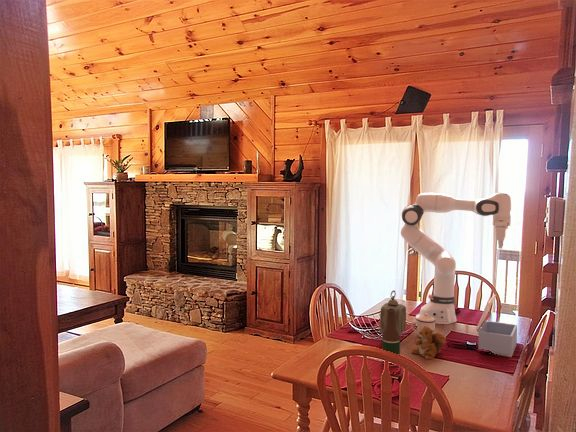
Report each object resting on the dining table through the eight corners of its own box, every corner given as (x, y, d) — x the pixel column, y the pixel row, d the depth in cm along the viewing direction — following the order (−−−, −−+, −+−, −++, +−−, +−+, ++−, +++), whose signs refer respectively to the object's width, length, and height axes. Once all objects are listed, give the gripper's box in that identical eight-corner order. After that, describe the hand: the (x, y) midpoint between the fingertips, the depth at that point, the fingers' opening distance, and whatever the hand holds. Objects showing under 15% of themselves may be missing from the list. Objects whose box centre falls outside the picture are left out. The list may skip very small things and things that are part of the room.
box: (511, 357, 205) (512, 336, 205) (478, 351, 213) (478, 331, 212) (516, 344, 222) (517, 325, 221) (485, 339, 230) (486, 320, 229)
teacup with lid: (434, 333, 239) (435, 311, 238) (435, 339, 230) (436, 316, 229) (410, 332, 242) (411, 310, 241) (411, 337, 233) (411, 315, 232)
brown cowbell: (389, 334, 238) (389, 287, 236) (406, 337, 233) (407, 288, 232) (379, 342, 226) (380, 292, 224) (397, 345, 221) (398, 294, 219)
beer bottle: (396, 368, 193) (397, 312, 191) (378, 365, 197) (379, 310, 196) (402, 362, 199) (402, 308, 198) (385, 359, 204) (385, 306, 202)
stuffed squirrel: (409, 353, 211) (410, 325, 211) (434, 349, 216) (435, 321, 215) (423, 360, 202) (423, 331, 201) (449, 356, 207) (449, 327, 206)
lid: (490, 304, 209) (487, 302, 210) (477, 331, 213) (475, 330, 213) (496, 295, 226) (494, 294, 226) (485, 321, 229) (482, 320, 230)
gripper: (496, 220, 262) (495, 244, 262) (494, 223, 243) (493, 249, 244) (508, 221, 259) (507, 245, 259) (507, 223, 240) (506, 249, 241)
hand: (500, 247), depth 252 cm, fingers open, 8 cm apart
